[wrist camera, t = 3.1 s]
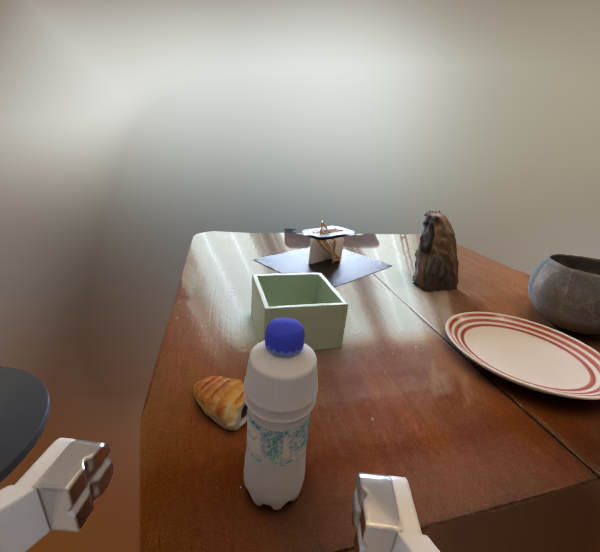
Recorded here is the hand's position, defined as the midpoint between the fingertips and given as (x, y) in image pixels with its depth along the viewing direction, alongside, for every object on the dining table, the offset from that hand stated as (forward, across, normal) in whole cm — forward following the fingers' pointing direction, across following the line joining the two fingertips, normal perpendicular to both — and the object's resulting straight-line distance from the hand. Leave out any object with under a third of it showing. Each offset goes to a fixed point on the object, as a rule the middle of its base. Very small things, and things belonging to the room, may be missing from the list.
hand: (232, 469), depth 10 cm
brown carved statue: (+80, -37, +24) cm, 91 cm away
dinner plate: (+46, -43, +24) cm, 67 cm away
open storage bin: (+48, 0, +24) cm, 53 cm away
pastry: (+26, +7, +24) cm, 36 cm away
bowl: (+63, -64, +24) cm, 92 cm away
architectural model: (+89, -7, +24) cm, 93 cm away
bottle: (+16, 0, +24) cm, 29 cm away
